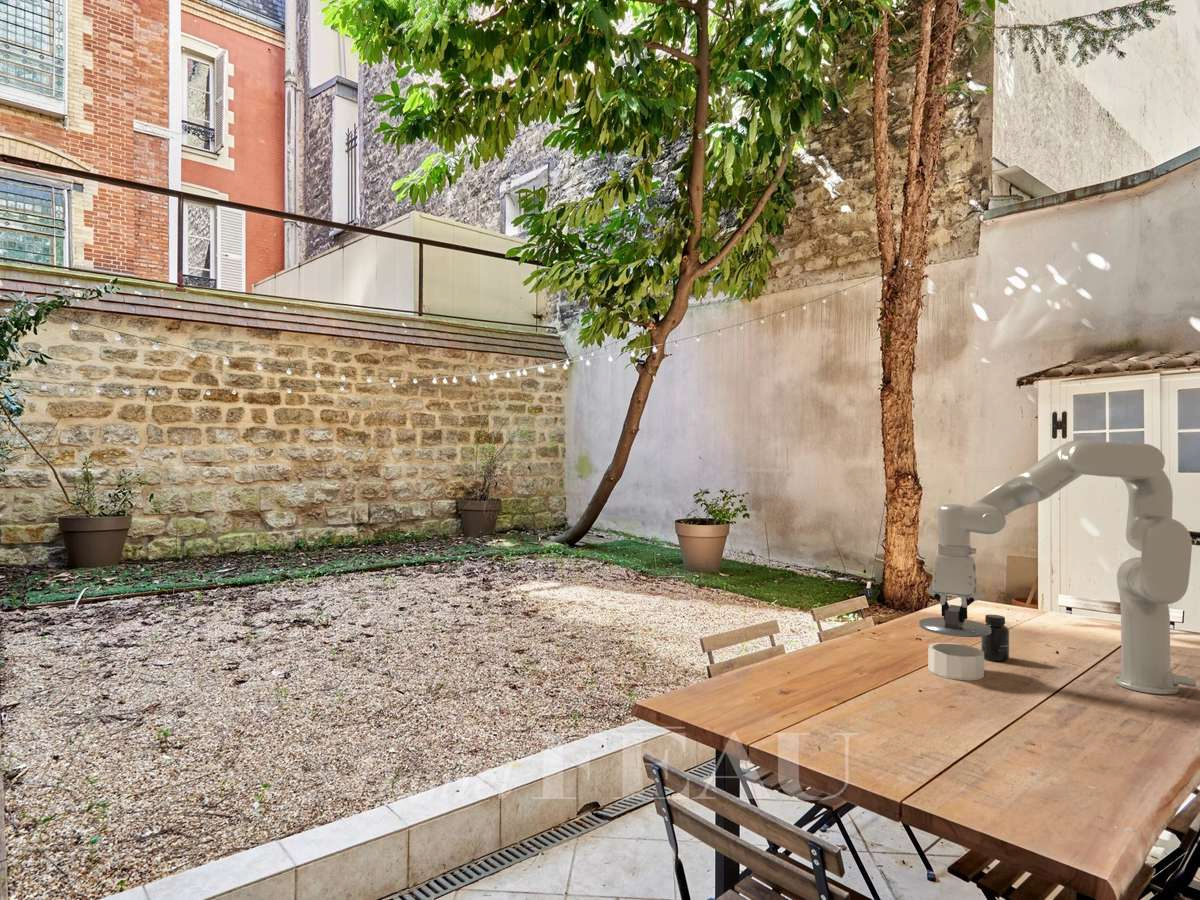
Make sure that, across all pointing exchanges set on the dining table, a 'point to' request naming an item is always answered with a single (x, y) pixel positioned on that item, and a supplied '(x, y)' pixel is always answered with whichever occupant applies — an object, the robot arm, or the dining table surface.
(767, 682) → the dining table surface
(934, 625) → the lid
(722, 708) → the dining table surface
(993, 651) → the supplement bottle
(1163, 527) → the robot arm
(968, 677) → the bowl
